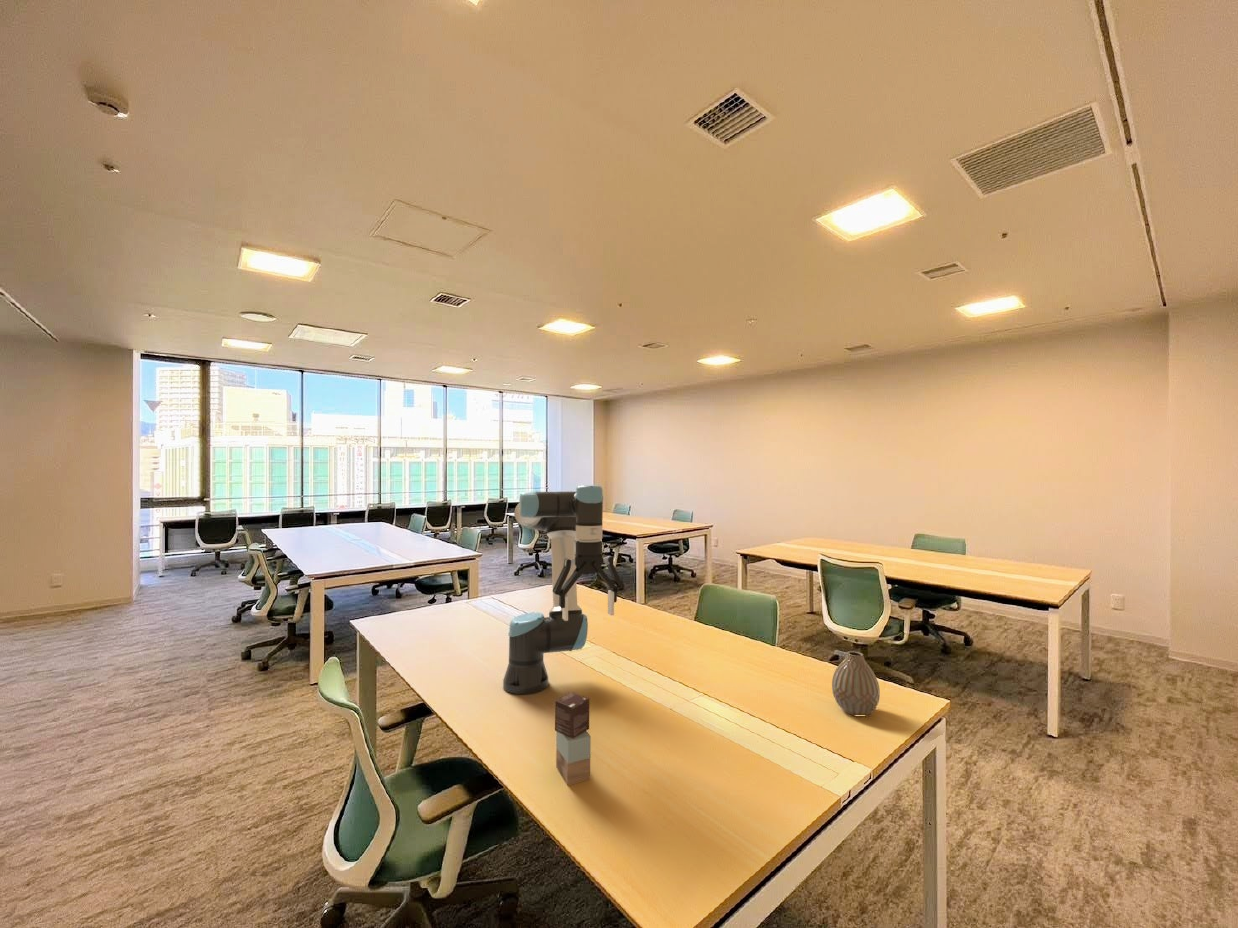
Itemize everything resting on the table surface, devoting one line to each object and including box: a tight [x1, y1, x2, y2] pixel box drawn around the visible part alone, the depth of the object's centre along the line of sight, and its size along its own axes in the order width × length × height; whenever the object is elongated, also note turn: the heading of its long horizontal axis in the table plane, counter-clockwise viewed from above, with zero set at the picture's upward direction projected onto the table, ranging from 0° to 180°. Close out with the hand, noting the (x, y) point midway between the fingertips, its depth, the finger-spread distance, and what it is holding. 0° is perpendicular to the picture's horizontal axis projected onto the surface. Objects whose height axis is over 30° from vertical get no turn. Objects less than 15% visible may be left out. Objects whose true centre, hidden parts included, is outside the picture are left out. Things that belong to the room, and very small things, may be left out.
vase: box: [831, 650, 881, 716], centre depth 150 cm, size 13×13×18 cm
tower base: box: [555, 747, 591, 786], centre depth 118 cm, size 8×6×5 cm
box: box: [554, 692, 590, 739], centre depth 118 cm, size 6×6×7 cm
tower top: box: [555, 730, 592, 764], centre depth 118 cm, size 8×6×5 cm
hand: (588, 616), depth 138 cm, fingers open, 13 cm apart
